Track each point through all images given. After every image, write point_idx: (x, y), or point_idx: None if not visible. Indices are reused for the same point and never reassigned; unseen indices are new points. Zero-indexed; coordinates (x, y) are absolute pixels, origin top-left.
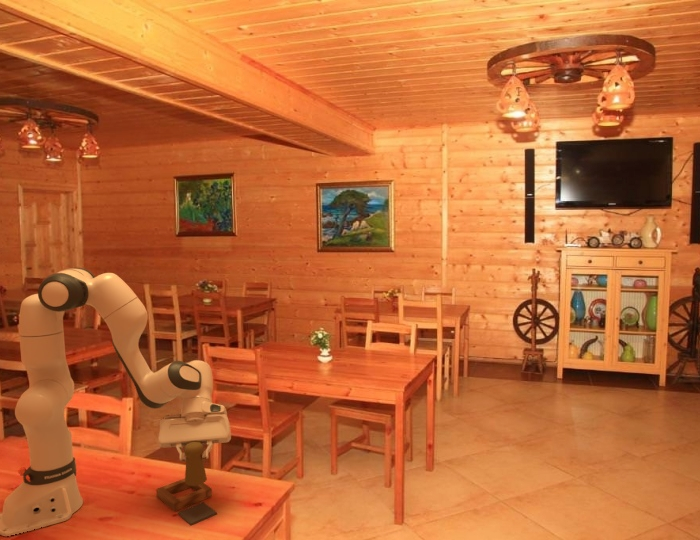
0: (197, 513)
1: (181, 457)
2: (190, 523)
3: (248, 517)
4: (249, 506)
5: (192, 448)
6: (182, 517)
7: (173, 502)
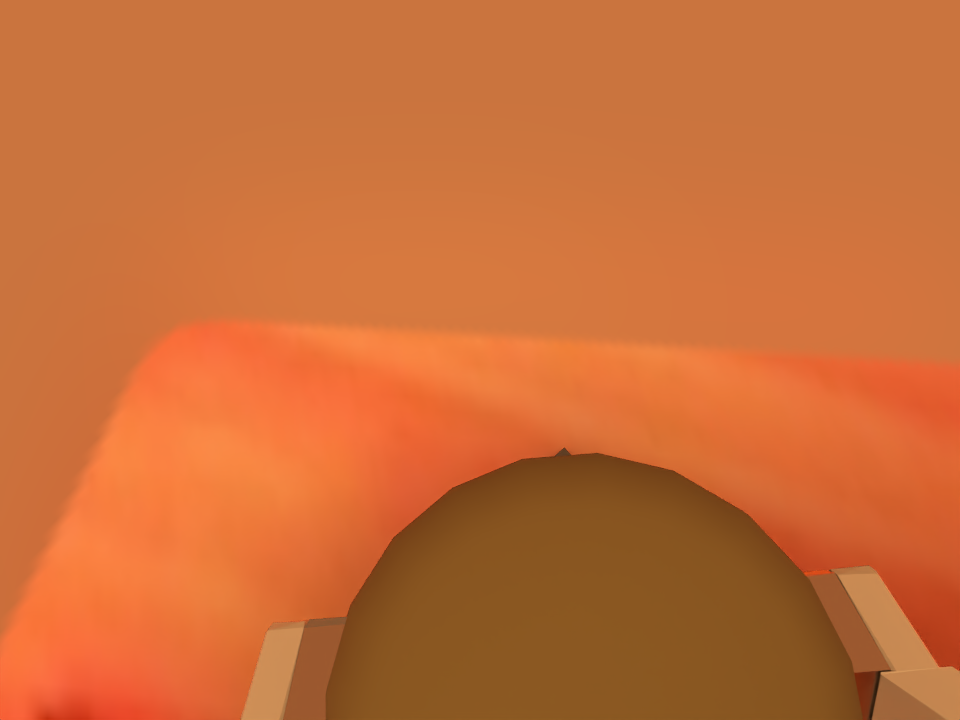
0: None
1: (835, 584)
2: (568, 452)
3: (143, 529)
4: (137, 703)
5: (556, 480)
6: None
7: None
